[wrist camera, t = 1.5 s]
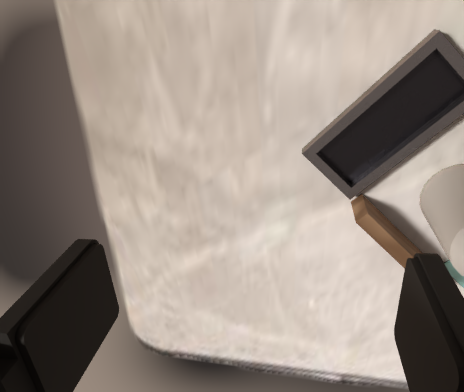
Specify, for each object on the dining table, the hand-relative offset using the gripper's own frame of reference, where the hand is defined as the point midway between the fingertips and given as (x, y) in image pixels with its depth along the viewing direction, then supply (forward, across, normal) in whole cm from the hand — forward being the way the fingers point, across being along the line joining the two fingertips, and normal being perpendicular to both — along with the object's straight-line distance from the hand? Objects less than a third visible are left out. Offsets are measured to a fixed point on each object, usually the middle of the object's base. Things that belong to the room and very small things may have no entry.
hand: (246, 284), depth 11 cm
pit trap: (+30, -10, +3) cm, 32 cm away
